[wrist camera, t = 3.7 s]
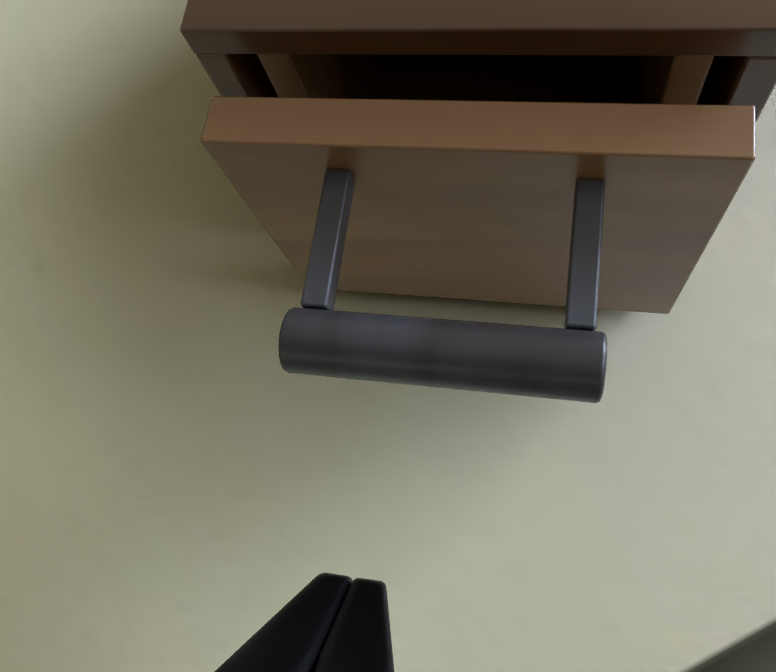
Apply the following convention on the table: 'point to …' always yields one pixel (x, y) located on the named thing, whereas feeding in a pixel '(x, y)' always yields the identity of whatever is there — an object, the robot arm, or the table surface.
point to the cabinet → (489, 35)
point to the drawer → (481, 203)
